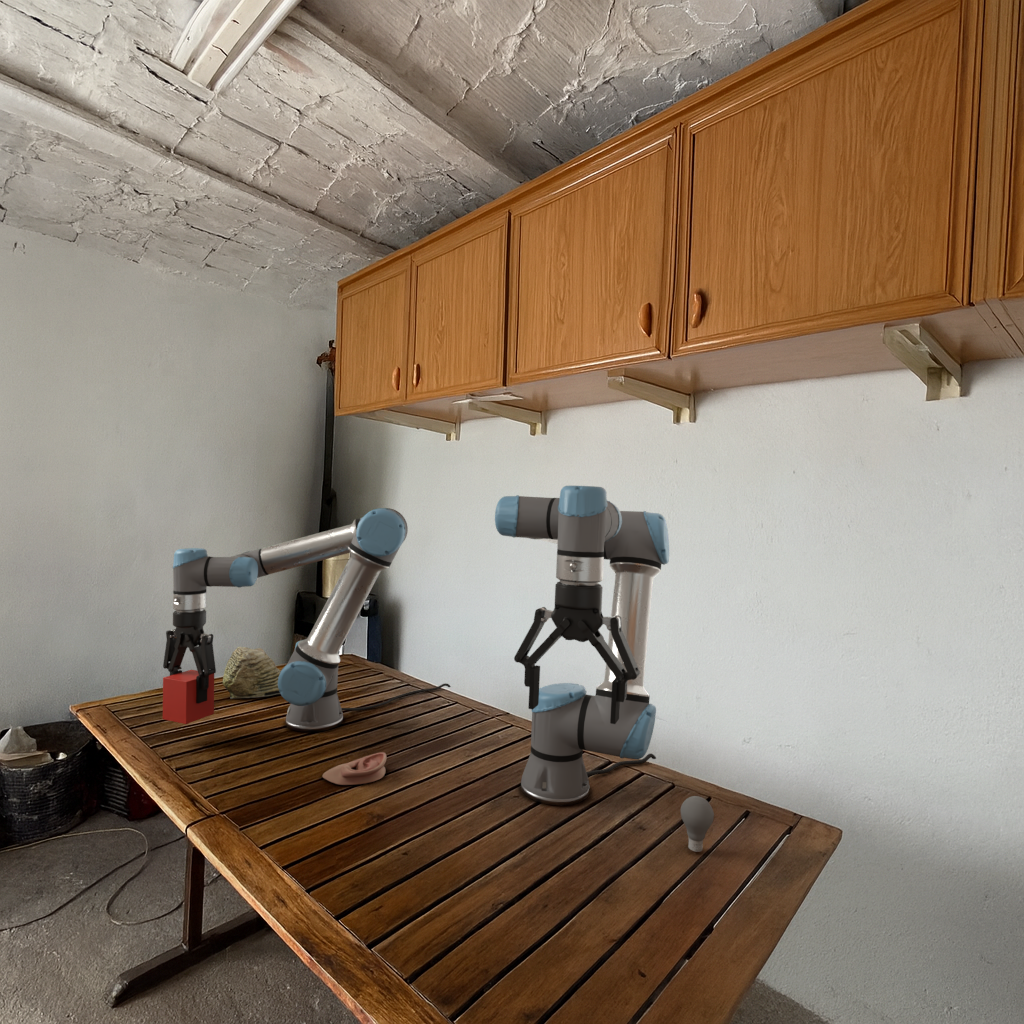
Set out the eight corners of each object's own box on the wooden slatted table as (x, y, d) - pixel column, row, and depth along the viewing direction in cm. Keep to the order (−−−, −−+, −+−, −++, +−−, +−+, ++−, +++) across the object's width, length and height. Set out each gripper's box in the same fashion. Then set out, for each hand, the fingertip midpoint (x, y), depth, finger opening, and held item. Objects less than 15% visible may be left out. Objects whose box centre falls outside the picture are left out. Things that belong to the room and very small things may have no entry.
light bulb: (674, 841, 122) (676, 790, 121) (704, 841, 122) (707, 790, 122) (685, 859, 116) (688, 805, 115) (717, 859, 116) (719, 805, 116)
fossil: (218, 695, 195) (220, 647, 195) (278, 685, 208) (279, 640, 207) (228, 703, 189) (230, 653, 188) (289, 692, 201) (290, 645, 201)
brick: (162, 719, 158) (162, 677, 158) (191, 709, 166) (191, 669, 165) (186, 724, 155) (186, 681, 154) (214, 713, 162) (214, 673, 162)
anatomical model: (316, 763, 140) (340, 744, 151) (315, 781, 140) (339, 761, 151) (372, 771, 137) (392, 751, 149) (371, 789, 138) (391, 768, 149)
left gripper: (146, 608, 160) (146, 697, 161) (208, 616, 152) (207, 709, 153) (173, 604, 167) (172, 689, 168) (232, 611, 159) (231, 700, 159)
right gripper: (498, 577, 103) (492, 707, 103) (653, 592, 93) (646, 735, 93) (515, 573, 110) (510, 695, 110) (661, 586, 100) (655, 720, 100)
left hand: (188, 699), depth 160 cm, fingers closed on brick, 8 cm apart
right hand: (573, 714), depth 102 cm, fingers open, 13 cm apart
